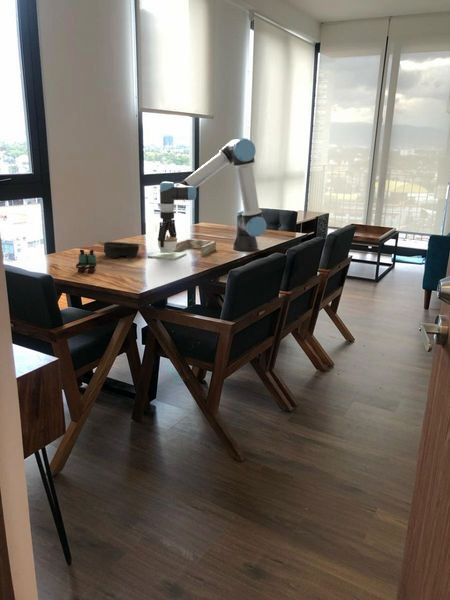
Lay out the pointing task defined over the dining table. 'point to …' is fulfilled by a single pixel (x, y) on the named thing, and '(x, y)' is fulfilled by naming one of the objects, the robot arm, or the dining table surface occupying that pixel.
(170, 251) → the lidded jar
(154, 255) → the pad
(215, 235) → the dining table surface
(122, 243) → the stone bowl
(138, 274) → the dining table surface
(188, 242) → the cubby
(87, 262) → the binoculars
